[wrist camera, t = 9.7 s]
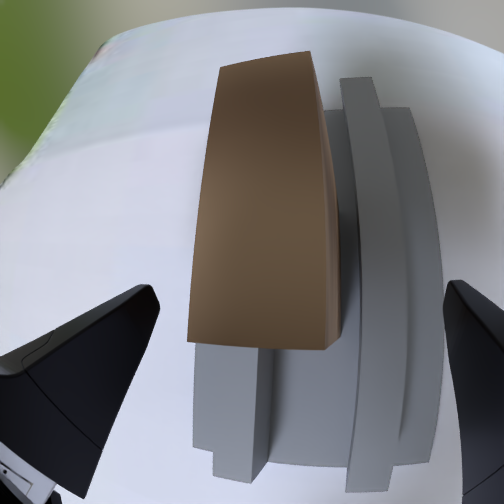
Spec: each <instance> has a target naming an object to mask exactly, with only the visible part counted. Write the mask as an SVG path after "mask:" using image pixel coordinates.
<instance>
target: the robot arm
mask: <svg viewBox="0 0 504 504" xmlns="http://www.w3.org/2000/svg"><path fill="white" fill-rule="evenodd" d="M159 312H160V304H159V301H158V299H157V297H156V294H155V292H154V290H153V287H152V286H151V285H148V284H140V285H137V286H135V287H133V288H131V289H129V290H127V291H126V292H124V293H122V294H120V295H118V296H116V297H114V298H112V299H110V300H108V301H106V302H105V303H103V304H101V305H99V306H97V307H95V308H93V309H91V310H89V311H88V312H86V313H84V314H82V315H80V316H78V317H76V318H75V319H73V320H71V321H69V322H67V323H65V324H63V325H62V326H60V327H58V328H56V329H55V330H52V331H50V332H49V333H47V334H45V335H43V336H41V337H39V338H37V339H35V340H33V341H31V342H29V343H27V344H25V345H23V346H21V347H19V348H17V349H15V350H13V351H11V352H9V353H7V354H5V355H3V356H0V504H62V501H61V496H60V494H59V493H58V492H56V491H55V490H54V488H55V486H56V485H57V484H58V485H60V486H61V487H63V488H65V489H66V490H68V491H70V492H71V493H73V494H75V495H77V496H78V497H80V498H82V499H84V498H85V497H86V495H87V492H88V489H89V486H90V483H91V481H92V478H93V475H94V473H95V470H96V467H97V465H98V462H99V459H100V457H101V454H102V452H103V449H104V446H105V444H106V441H107V439H108V436H109V434H110V431H111V429H112V426H113V424H114V421H115V419H116V417H117V414H118V412H119V409H120V407H121V405H122V402H123V400H124V398H125V395H126V393H127V391H128V389H129V386H130V384H131V382H132V379H133V377H134V375H135V373H136V370H137V368H138V366H139V364H140V362H141V359H142V357H143V355H144V353H145V351H146V348H147V346H148V343H149V340H150V337H151V334H152V331H153V329H154V326H155V323H156V320H157V317H158V315H159ZM443 318H444V324H445V332H446V340H447V349H448V357H449V363H450V369H451V374H452V379H453V385H454V391H455V397H456V404H457V411H458V419H459V428H460V439H461V452H462V475H463V495H464V496H463V497H462V504H504V311H503V310H502V309H501V308H499V307H498V306H497V305H495V304H494V303H493V302H492V301H490V300H489V299H488V298H486V297H485V296H484V295H482V294H481V293H480V292H478V291H477V290H476V289H474V288H473V287H471V286H470V285H469V284H467V283H466V282H465V281H463V280H450V281H449V282H448V284H447V288H446V293H445V298H444V302H443Z"/></svg>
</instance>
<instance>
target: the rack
mask: <svg viewBox="0 0 504 504" xmlns="http://www.w3.org/2000/svg"><path fill="white" fill-rule="evenodd" d="M340 86H341V94H342V102H343V110H329V111H324V116H325V121H326V127H327V132H328V138H329V144H330V150H331V156H332V163H333V169H334V176H335V183H336V191H337V199H338V207H339V222H340V246H341V337H340V338H339V339H338V340H336V341H335V342H334V343H333V344H332V345H330V346H329V347H328V348H327V349H326V350H287V349H265V348H249V347H235V346H223V345H212V344H202V343H196V345H195V367H194V396H193V447H194V448H198V449H202V450H206V451H211V452H213V476H216V477H220V478H225V479H229V480H234V481H239V482H244V483H250V484H251V483H252V482H253V480H254V479H255V478H256V477H257V475H258V474H259V473H260V471H261V470H262V469H263V467H264V466H265V465H266V463H267V462H273V463H282V464H291V465H303V466H318V467H347V478H346V490H345V492H383V491H388V487H389V483H390V478H391V474H392V469H393V466H398V465H409V464H418V463H426V462H429V460H430V455H431V450H432V445H433V440H434V435H435V429H436V423H437V416H438V409H439V401H440V392H441V382H442V370H443V352H444V318H443V302H444V296H443V277H442V264H441V254H440V245H439V236H438V229H437V222H436V215H435V209H434V203H433V198H432V192H431V187H430V182H429V178H428V173H427V169H426V164H425V160H424V156H423V152H422V148H421V145H420V141H419V137H418V134H417V130H416V127H415V123H414V120H413V117H412V114H411V111H410V108H380V105H379V101H378V97H377V94H376V90H375V87H374V84H373V80H372V77H360V78H342V79H340Z"/></svg>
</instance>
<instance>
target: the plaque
mask: <svg viewBox="0 0 504 504" xmlns="http://www.w3.org/2000/svg"><path fill="white" fill-rule="evenodd" d="M340 337H341V246H340V222H339V207H338V199H337V191H336V183H335V176H334V169H333V163H332V156H331V150H330V144H329V138H328V132H327V127H326V121H325V116H324V111H323V106H322V101H321V96H320V91H319V87H318V82H317V78H316V73H315V69H314V65H313V61H312V56H311V52H310V51H305V52H297V53H290V54H283V55H277V56H271V57H265V58H260V59H255V60H250V61H245V62H240V63H236V64H232V65H227V66H223V67H220V71H219V76H218V81H217V87H216V92H215V98H214V104H213V110H212V116H211V122H210V128H209V135H208V141H207V148H206V155H205V162H204V169H203V176H202V184H201V192H200V200H199V208H198V217H197V226H196V235H195V245H194V255H193V266H192V278H191V290H190V303H189V318H188V334H187V342H193V343H202V344H212V345H223V346H235V347H249V348H265V349H287V350H326V349H327V348H328V347H329V346H330V345H332V344H333V343H334V342H335V341H336V340H338V339H339V338H340Z"/></svg>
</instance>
